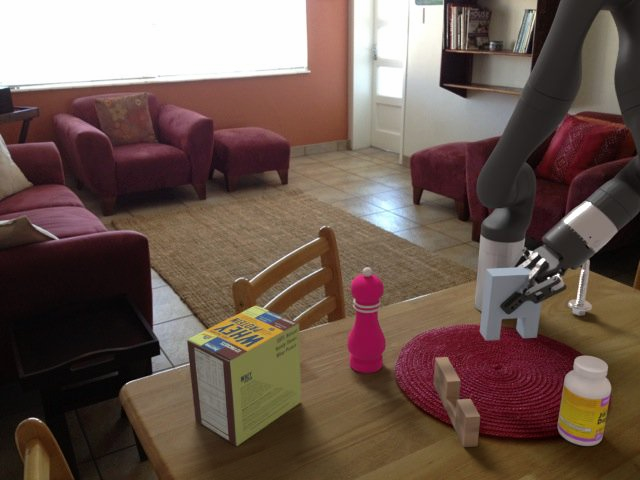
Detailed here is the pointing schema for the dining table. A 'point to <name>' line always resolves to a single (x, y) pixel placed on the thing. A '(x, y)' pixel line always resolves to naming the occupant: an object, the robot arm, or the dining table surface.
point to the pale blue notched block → (496, 292)
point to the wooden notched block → (456, 403)
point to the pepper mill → (366, 324)
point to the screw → (581, 293)
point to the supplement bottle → (585, 402)
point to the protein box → (245, 373)
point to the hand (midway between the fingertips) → (500, 305)
